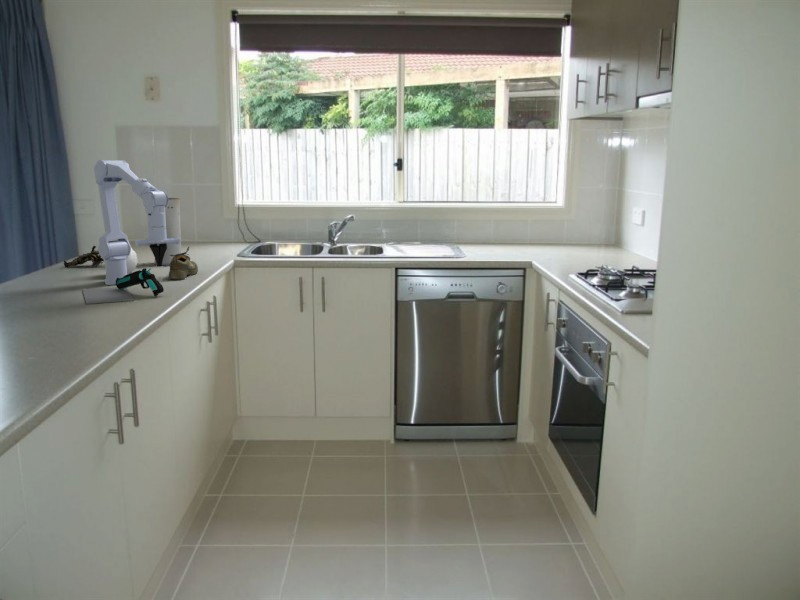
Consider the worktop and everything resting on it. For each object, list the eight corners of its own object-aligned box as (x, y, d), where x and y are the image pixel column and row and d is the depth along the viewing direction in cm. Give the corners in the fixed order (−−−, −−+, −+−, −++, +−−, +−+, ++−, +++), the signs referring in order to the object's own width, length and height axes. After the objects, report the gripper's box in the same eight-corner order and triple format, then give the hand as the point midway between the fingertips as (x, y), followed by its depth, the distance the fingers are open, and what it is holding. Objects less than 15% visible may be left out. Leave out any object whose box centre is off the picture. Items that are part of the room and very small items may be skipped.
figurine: (62, 255, 279) (106, 241, 284) (70, 274, 281) (114, 259, 286) (60, 257, 270) (105, 242, 275) (68, 276, 272) (113, 261, 277)
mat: (82, 290, 231) (82, 289, 231) (126, 287, 238) (125, 286, 238) (86, 304, 211) (86, 303, 211) (134, 300, 217) (133, 299, 217)
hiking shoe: (201, 272, 272) (199, 242, 269) (184, 281, 252) (182, 249, 250) (180, 271, 272) (178, 242, 269) (162, 280, 253) (160, 249, 250)
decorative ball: (139, 277, 257) (137, 246, 255) (105, 279, 252) (103, 247, 250) (137, 272, 268) (135, 242, 265) (104, 273, 263) (102, 243, 260)
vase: (152, 262, 293) (146, 198, 287) (185, 260, 297) (179, 197, 291) (150, 267, 281) (144, 200, 275) (185, 265, 285) (179, 199, 279)
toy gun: (127, 305, 235) (119, 277, 234) (166, 292, 225) (158, 263, 225) (120, 306, 232) (112, 278, 232) (159, 293, 222) (151, 264, 222)
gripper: (135, 228, 220) (138, 269, 223) (181, 227, 227) (183, 266, 230) (133, 226, 227) (135, 266, 229) (177, 224, 233) (179, 263, 236)
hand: (159, 266), depth 230 cm, fingers closed
